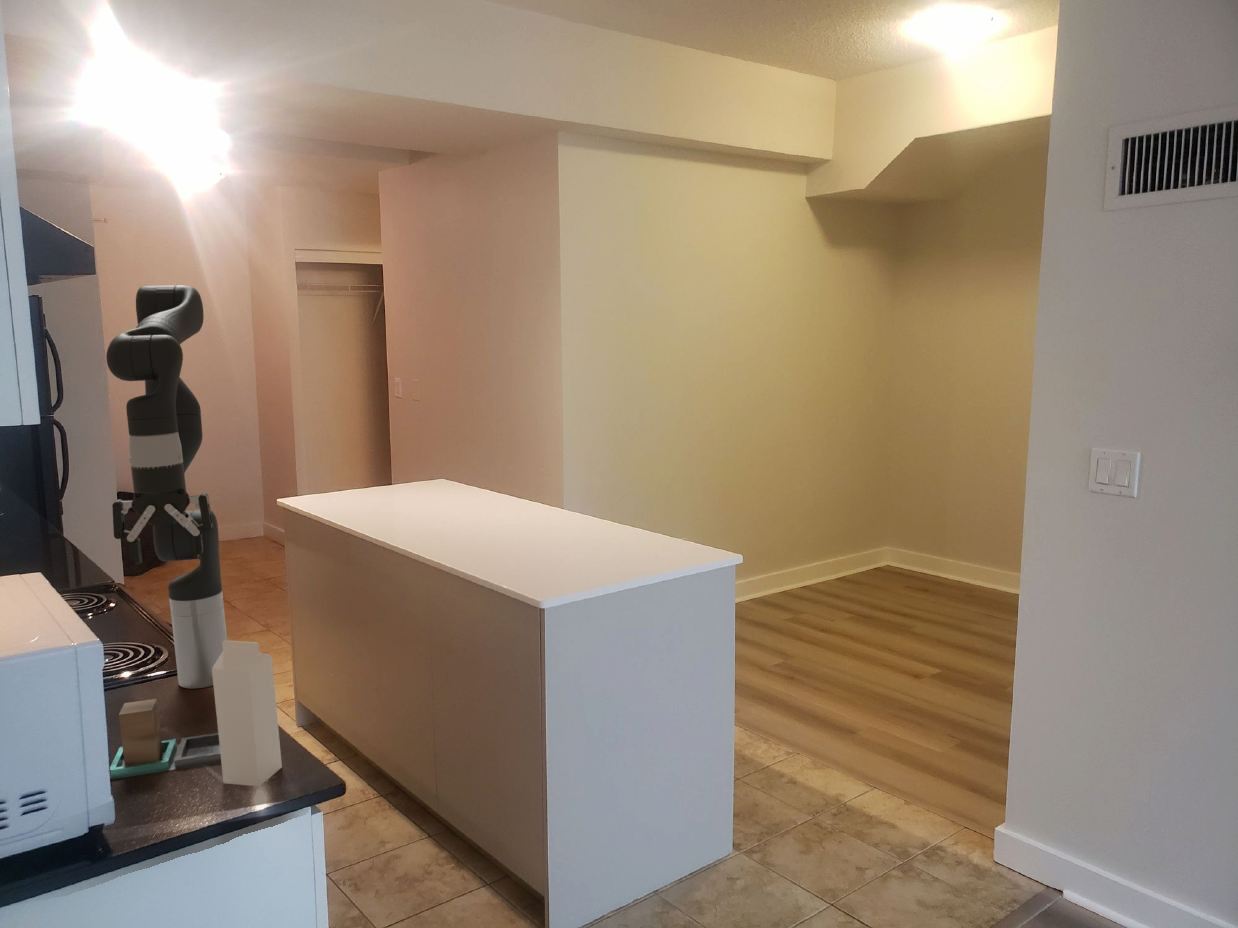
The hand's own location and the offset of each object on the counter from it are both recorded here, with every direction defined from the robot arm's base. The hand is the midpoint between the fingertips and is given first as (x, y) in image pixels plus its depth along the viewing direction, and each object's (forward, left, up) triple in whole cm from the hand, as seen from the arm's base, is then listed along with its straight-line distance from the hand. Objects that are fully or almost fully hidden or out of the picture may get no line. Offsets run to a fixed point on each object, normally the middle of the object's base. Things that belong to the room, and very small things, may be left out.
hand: (167, 560), depth 151 cm
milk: (+22, +12, -30) cm, 39 cm away
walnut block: (+11, -4, -29) cm, 31 cm away
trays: (+11, 0, -30) cm, 32 cm away
